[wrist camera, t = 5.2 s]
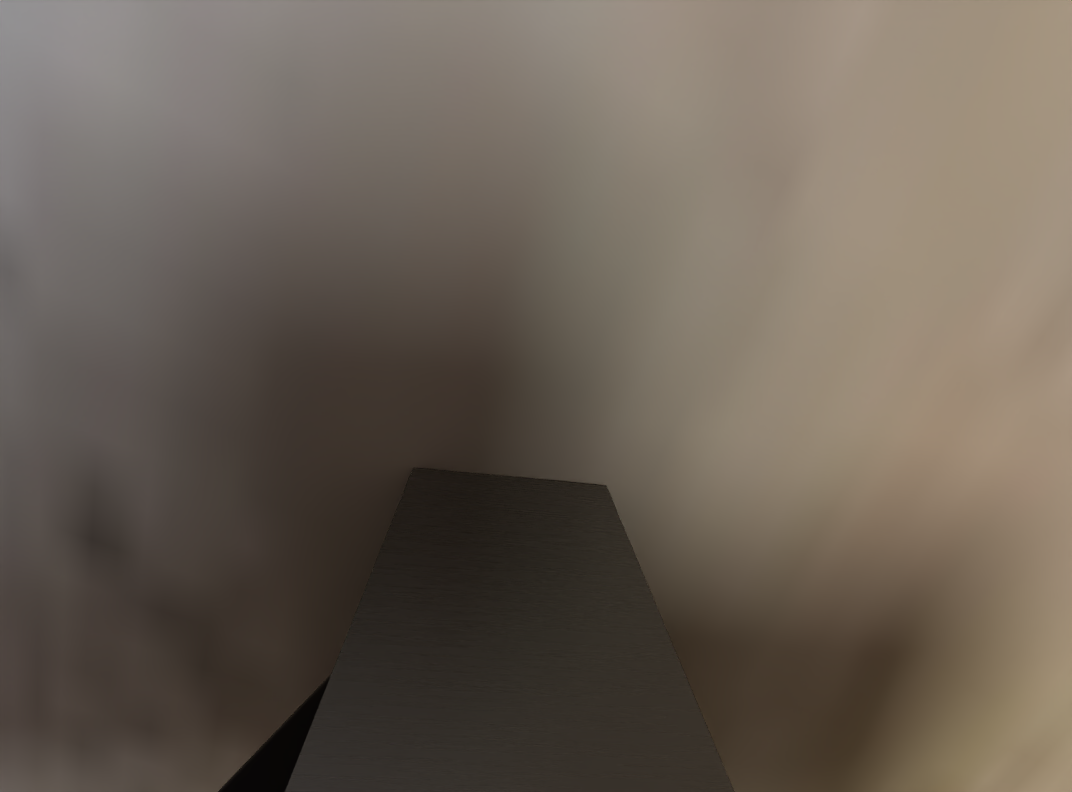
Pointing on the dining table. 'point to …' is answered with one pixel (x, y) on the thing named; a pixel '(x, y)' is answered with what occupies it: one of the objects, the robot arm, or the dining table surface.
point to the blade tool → (507, 655)
